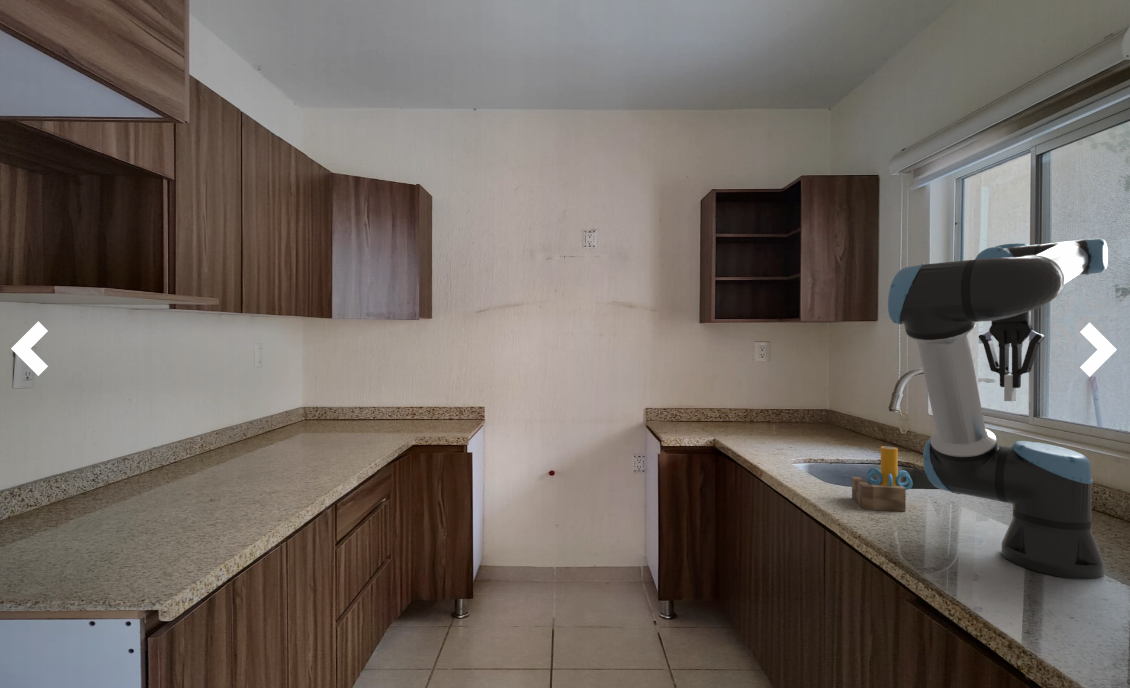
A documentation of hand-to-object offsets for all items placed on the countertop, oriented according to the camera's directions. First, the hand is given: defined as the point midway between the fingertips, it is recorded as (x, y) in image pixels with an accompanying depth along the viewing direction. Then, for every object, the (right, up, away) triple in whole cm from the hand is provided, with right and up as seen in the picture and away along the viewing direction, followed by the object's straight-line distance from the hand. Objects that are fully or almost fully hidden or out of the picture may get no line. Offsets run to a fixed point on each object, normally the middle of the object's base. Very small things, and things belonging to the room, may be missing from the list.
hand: (1010, 400), depth 134 cm
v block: (-29, -29, +9) cm, 42 cm away
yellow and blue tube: (-22, -30, +13) cm, 39 cm away
